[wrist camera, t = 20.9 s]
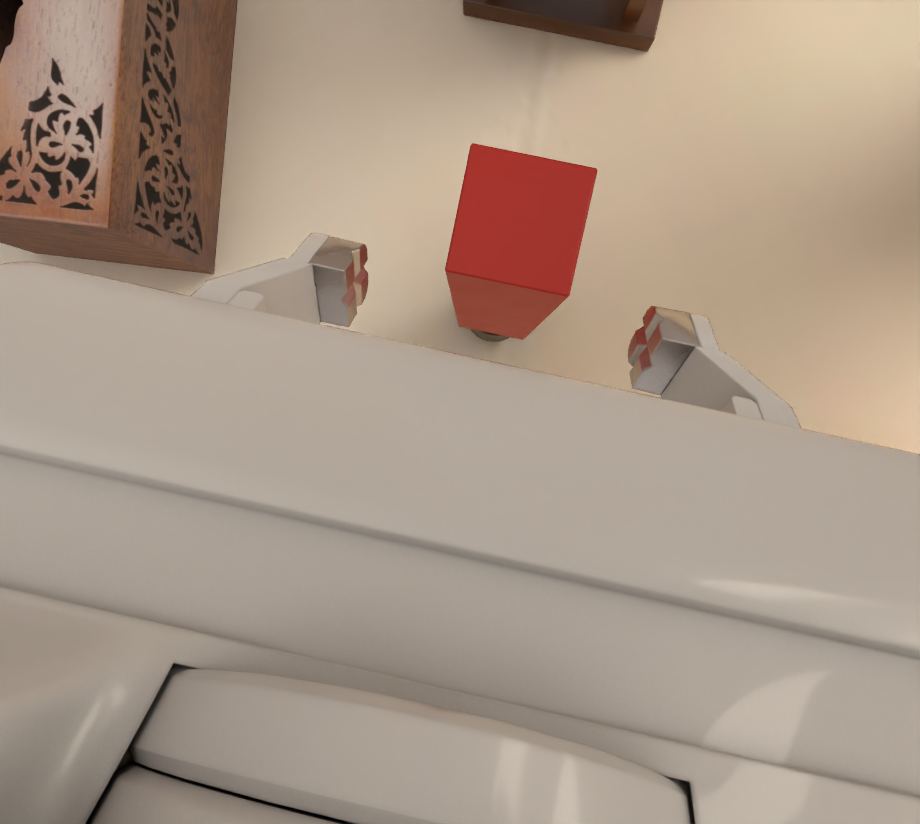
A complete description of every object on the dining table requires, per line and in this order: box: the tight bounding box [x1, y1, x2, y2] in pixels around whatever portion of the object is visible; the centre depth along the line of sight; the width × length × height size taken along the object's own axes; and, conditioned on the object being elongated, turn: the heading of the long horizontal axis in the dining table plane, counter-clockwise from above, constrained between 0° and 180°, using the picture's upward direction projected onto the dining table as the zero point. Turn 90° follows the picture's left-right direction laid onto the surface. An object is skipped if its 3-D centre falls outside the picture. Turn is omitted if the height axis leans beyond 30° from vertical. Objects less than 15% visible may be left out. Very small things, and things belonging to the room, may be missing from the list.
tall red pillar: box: [445, 144, 597, 342], centre depth 24 cm, size 20×4×9 cm
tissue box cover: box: [0, 0, 237, 274], centre depth 29 cm, size 26×14×10 cm, turn 173°
